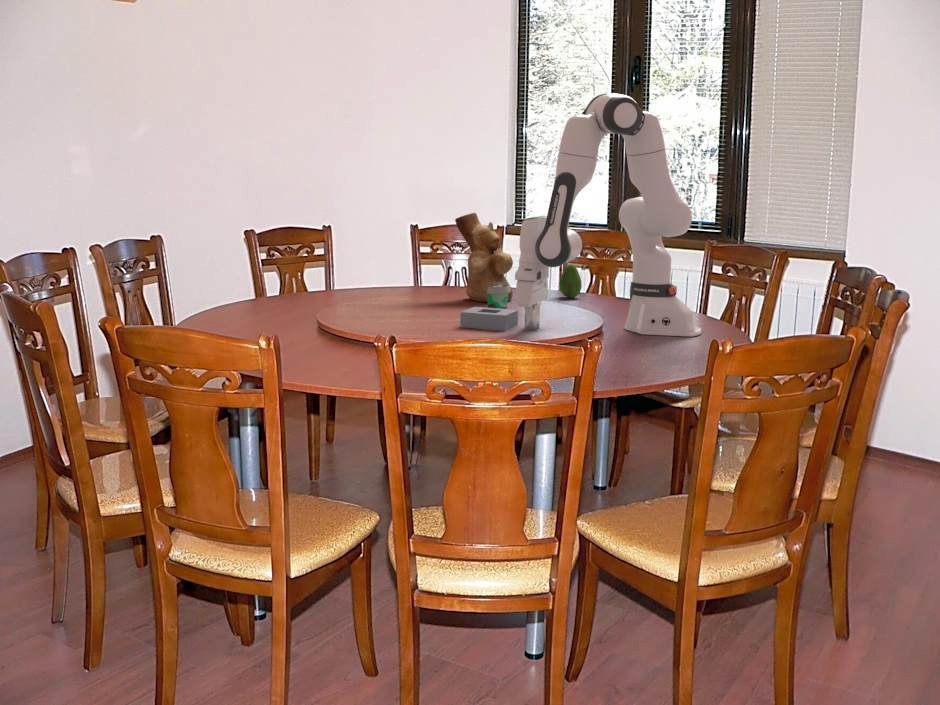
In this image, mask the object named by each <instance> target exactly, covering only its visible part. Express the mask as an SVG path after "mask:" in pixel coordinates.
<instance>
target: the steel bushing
mask: <svg viewBox="0 0 940 705" xmlns="http://www.w3.org/2000/svg"><path fill="white" fill-rule="evenodd" d="M532 314H533V319H532V320H526V313H525V312H524V328H523V329H524V330H526V331H538V330H537V329H539V330H540V326H541V325H540V324H541V322H540V320H541V306H540V302H538V303H537V304H534V305H533V308H532Z"/></svg>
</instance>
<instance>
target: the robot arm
mask: <svg viewBox="0 0 940 705" xmlns="http://www.w3.org/2000/svg"><path fill="white" fill-rule="evenodd" d="M607 134H610V135H613V134H614V135H615V134H616V135H619V136H620V135H621V136H622V138H623V140H624V144H625V145H624V146H625V151H626V160H627V168H628V175H629V180H630V182H631V184H632V185H634V186H635V188H636V189H637V190H638V192H639V194H640V195H641V196H638V197H633V198H627V199H626V200H625V201H624V202H623V203H622V204H621V206H620V207H619V208H620V209H619V211H618V219H619V220H618V221H619V222H620V225H621V226H622V228H623V229H624V230H625V231H626V234H627V236H628V239H629V243H630V247H631V251H632V278H631V279H632V281H631V282H630V286H629V301H630V304H629V309H628V315H627V319H626V321H625V325H624V330H626V331H630V332H633V333H636V334H639V335H648V336H649V335H650V336H669V337H670V336H672V337H673V336H675V337H696V336H699V335H701V334H702V327H699V326H695V324H696V323H695V316H694V313H693V310H692V309H691V308H690V307H689V306H687V305H686V304H685V303H684V301H681V299H679V298H678V297H677V290H678V288H677V285H674V284H673V283H671V273H672V272H671V271H672V257H671V254H670V252H668V250H667V249H666V248H665V246H664V243H663V238H673V237H677V236H678V237H679V236H682V235H684V234H686V233H687V232H688V230H689V229H690V228H691V225H692V220H693V215H692V211H691V209H690V207H689V205H688V204H687V203H686V202H684V201H683V199H681V197H680V196H679V193H678V192H677V190H676V188H675V186H674V183H673V181H672V179H671V174H670V171H669V165H668V159H667V152H666V146H665V145H666V144H665V139H664V134H663V132H662V126H661V123H660V121H659V118H658V116H657V115H656V114H654V113H653V112H649V111H643V110H642V108H641V107H640V106H639V104H638V102H636V100H635V99H634V98H632V97H631V96H629V95H625V94H621V93H602V94H598V95H596V96H595V97H593V98H592V99H590V101H589V103H587V106H586V107H585V109H584V110H583V111H582V113H581V114H576V115H573V116H571V117H569V118H568V120H567V121H566V124H565V126H564V129H563V132H562V136H561V139H560V143H559V149H558V154H557V162H556V170H555V177H554V181H553V188H552V190H551V191H552V192H551V196H550V202H549V206H548V209H547V215H540V216H531V217H527V218H526V219H524V220H523V221H522V222H521V226H520V234H519V251H520V256H519V259H518V267H517V270H516V272H514V280H515V281H516V286H515V288H516V289H515V290H516V292H515V294H516V303H517V307H519V308H520V307H522V308H524V309H523V310H524V314H525V313H526V320H532V319H533V314H532V308H533V305H534V304H537V303H538V302H540V307H541V306H542V305H541V304H542V303H541V302H544V301H545V300H547V299H548V296H549V286H548V285H549V281H548V279H549V277H550V276H549V275H550V268H558V267H560V266H562V265H564V264H565V263H569V262H571V261H573V260H575V259H577V258H578V257H579V256H580V254H581V252H582V250H583V240H582V238H581V236H580V234H579V233H578V232H577V231H575V230H573V229H570V228H569V224H570V219H571V214H572V210H573V205H574V202H575V200H576V198H577V196H578V195H579V193H580V192H582V190H583V189H584V188H585V187H586V186H587V185H588V184H590V182H592V180H593V179H592V178H593V176H594V173H595V171H596V169H597V168H596V167H597V163H598V156H599V147H600V145H601V142H602V140H603V138H604V137H605V136H607Z"/></svg>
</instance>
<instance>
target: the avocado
mask: <svg viewBox="0 0 940 705" xmlns="http://www.w3.org/2000/svg"><path fill="white" fill-rule="evenodd" d="M558 282H559V284H558V286H559V290H560V292H561V294H562V295H563V296H564V297H566V298H568V299H574V298H576V297H577V296H578V295H579V294H580V292H581V289H582V279H581V275H580V273H579V270H578V269H577V266H576V265H574V264H568V265H566V266H565V267H564V269H563V270H562V273H561V275H560V278H559V281H558Z"/></svg>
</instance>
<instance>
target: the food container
mask: <svg viewBox="0 0 940 705" xmlns="http://www.w3.org/2000/svg"><path fill="white" fill-rule="evenodd" d="M509 285H510V284H509ZM509 285H508V284H505V283H495V282H494V286H491V287H488V290H487V294H488V302H487V308H498V309H508V302H509V301H508V293H509V292H510V287H511V286H510V287H509Z"/></svg>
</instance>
